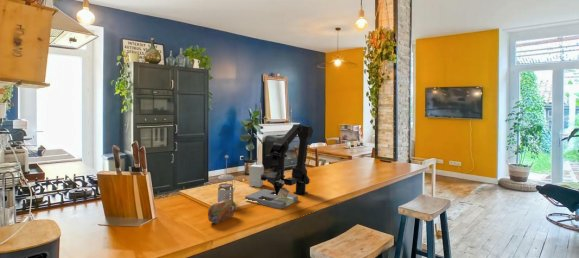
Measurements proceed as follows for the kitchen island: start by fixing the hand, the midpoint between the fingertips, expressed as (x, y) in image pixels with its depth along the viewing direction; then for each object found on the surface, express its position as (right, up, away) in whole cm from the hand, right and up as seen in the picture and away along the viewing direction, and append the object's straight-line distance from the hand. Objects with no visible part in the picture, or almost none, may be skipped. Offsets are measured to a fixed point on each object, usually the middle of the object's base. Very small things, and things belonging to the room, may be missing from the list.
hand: (277, 195), depth 173 cm
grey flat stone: (-24, -5, -29) cm, 38 cm away
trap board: (-3, -3, +2) cm, 5 cm away
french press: (-26, -3, -6) cm, 27 cm away
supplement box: (-14, 0, +31) cm, 34 cm away
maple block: (+2, 0, 0) cm, 3 cm away
